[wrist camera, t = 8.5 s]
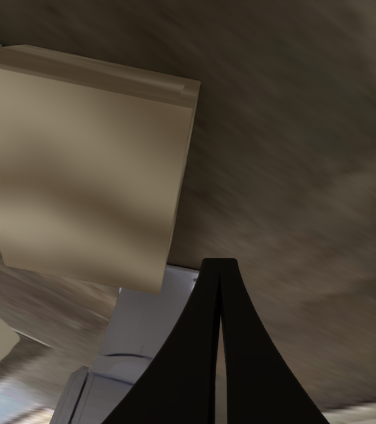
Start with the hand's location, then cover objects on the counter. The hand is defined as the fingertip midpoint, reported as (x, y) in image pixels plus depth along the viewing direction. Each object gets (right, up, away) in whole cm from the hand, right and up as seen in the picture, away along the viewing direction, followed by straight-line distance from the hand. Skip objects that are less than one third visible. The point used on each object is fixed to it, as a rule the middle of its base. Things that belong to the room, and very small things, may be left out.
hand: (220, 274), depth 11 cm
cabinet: (-7, +7, +9) cm, 13 cm away
